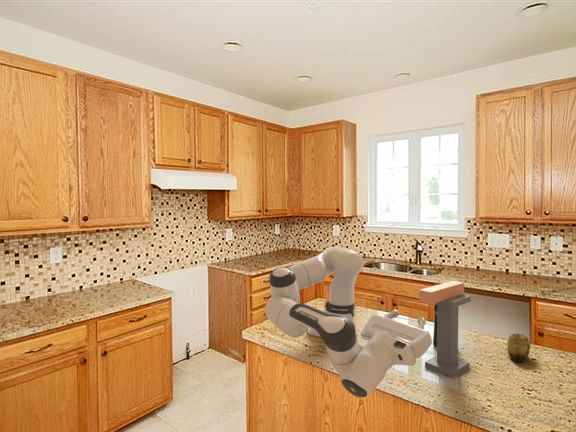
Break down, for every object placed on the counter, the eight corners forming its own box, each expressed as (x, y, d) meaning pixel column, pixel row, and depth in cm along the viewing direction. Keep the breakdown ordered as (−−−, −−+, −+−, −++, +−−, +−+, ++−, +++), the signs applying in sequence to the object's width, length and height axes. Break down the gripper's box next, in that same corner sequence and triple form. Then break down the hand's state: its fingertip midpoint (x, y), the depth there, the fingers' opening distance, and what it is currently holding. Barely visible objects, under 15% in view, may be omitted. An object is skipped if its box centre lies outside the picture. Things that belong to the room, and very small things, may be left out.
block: (430, 304, 108) (430, 292, 108) (419, 301, 111) (419, 289, 111) (463, 293, 121) (464, 282, 121) (453, 291, 125) (453, 280, 124)
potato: (499, 358, 126) (499, 337, 126) (511, 349, 134) (511, 329, 134) (525, 366, 120) (525, 344, 120) (536, 356, 128) (536, 335, 128)
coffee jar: (449, 353, 131) (450, 306, 130) (430, 347, 137) (430, 302, 136) (460, 346, 137) (461, 301, 136) (441, 340, 143) (441, 297, 142)
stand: (452, 378, 112) (453, 302, 111) (424, 367, 120) (425, 295, 119) (469, 368, 119) (470, 295, 118) (442, 357, 127) (443, 290, 126)
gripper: (361, 343, 107) (385, 314, 113) (419, 368, 90) (443, 332, 97) (354, 328, 104) (379, 300, 111) (412, 351, 88) (437, 316, 95)
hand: (409, 315), depth 104 cm, fingers open, 8 cm apart
